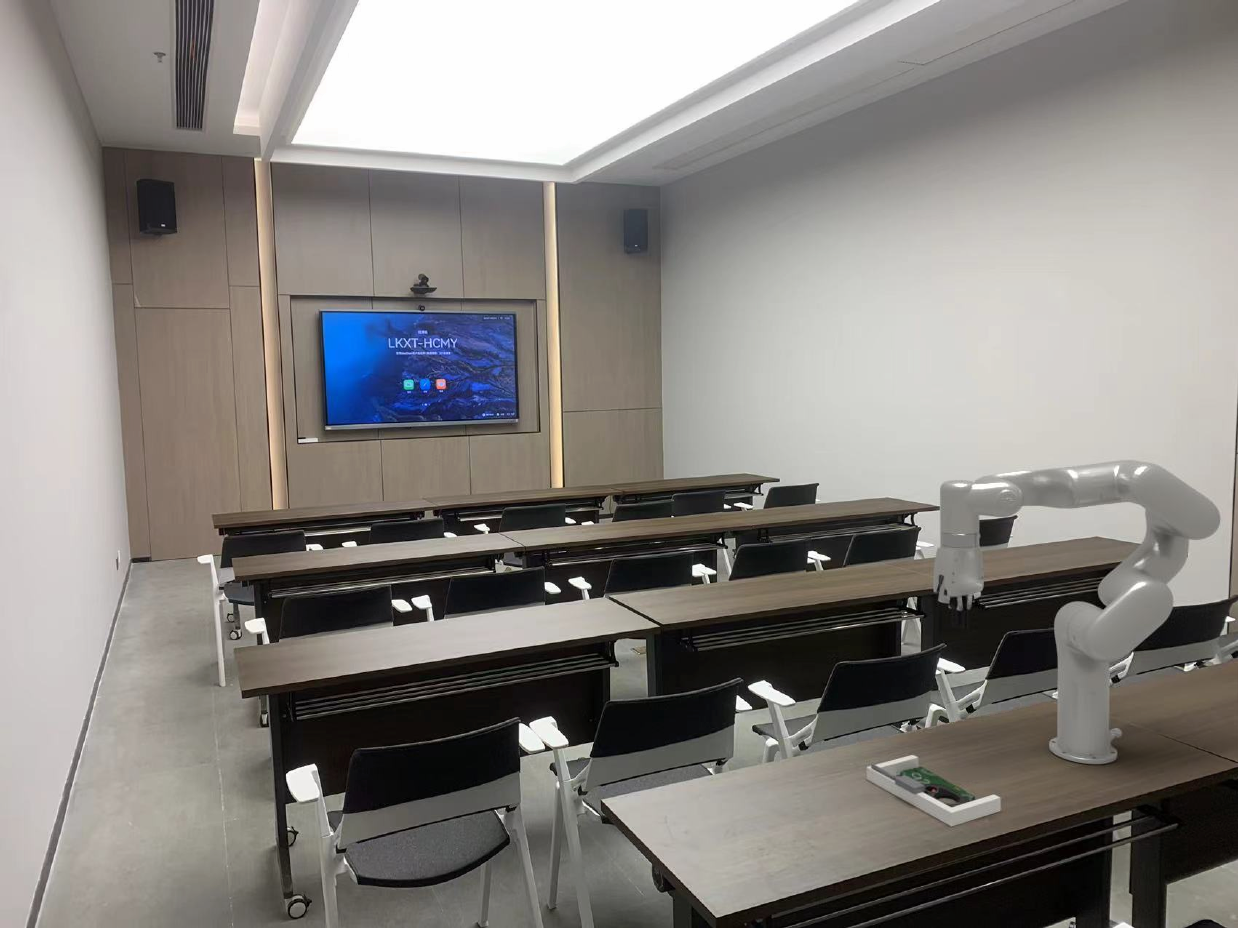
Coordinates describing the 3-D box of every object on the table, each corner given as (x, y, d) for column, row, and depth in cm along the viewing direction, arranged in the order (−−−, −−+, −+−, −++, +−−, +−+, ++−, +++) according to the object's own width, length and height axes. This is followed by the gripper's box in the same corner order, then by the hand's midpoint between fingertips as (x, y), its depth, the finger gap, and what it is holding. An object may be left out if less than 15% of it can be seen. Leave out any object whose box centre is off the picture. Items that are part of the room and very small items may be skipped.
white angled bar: (913, 766, 182) (912, 749, 181) (1000, 810, 162) (1000, 791, 162) (865, 779, 176) (864, 761, 176) (949, 827, 157) (949, 806, 156)
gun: (883, 774, 176) (924, 765, 180) (883, 781, 177) (924, 772, 180) (939, 809, 161) (983, 798, 165) (939, 817, 161) (983, 806, 165)
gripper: (972, 534, 190) (972, 618, 192) (918, 541, 184) (919, 628, 185) (1000, 539, 183) (1000, 626, 185) (946, 546, 177) (946, 637, 178)
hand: (959, 627), depth 185 cm, fingers closed
